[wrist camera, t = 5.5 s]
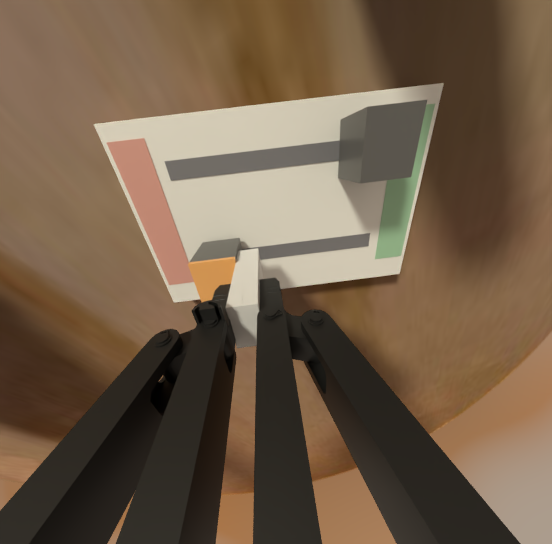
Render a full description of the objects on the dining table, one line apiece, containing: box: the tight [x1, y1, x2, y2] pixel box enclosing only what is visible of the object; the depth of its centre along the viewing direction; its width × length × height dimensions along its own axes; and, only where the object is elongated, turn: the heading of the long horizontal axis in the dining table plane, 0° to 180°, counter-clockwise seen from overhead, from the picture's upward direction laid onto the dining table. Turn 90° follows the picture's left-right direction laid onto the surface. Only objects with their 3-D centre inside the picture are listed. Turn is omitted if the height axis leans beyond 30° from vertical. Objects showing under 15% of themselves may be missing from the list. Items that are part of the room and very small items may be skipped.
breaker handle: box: [188, 238, 242, 302], centre depth 15 cm, size 3×4×4 cm
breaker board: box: [94, 83, 444, 302], centre depth 15 cm, size 22×14×6 cm, turn 97°
